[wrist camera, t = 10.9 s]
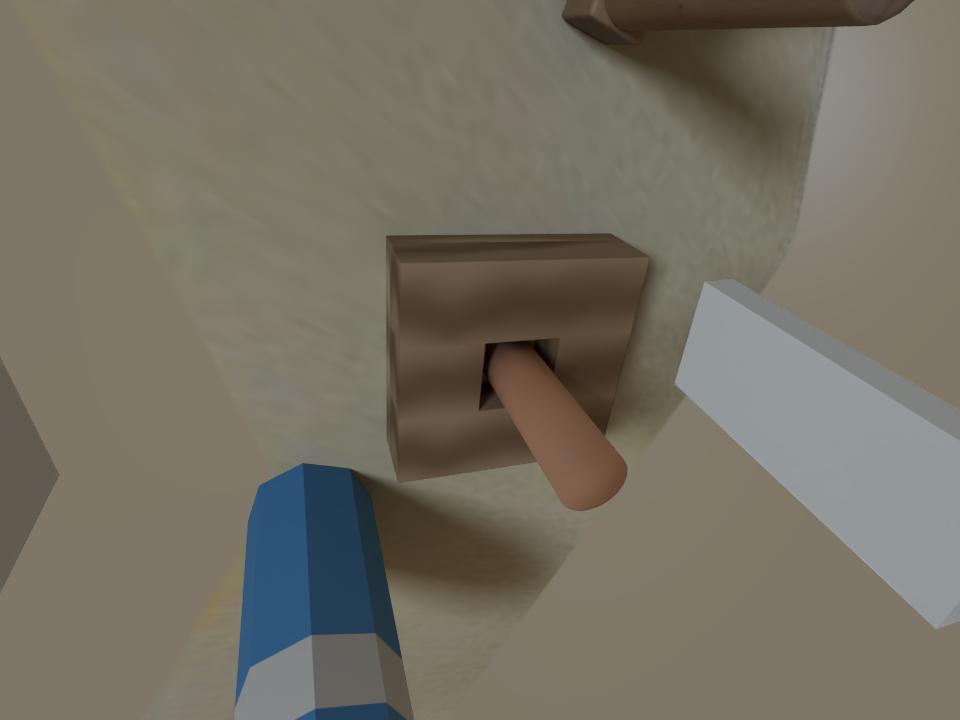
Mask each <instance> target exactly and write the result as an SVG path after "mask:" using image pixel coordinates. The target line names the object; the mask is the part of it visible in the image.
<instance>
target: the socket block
mask: <svg viewBox="0 0 960 720" xmlns="http://www.w3.org/2000/svg"><path fill="white" fill-rule="evenodd" d="M649 259H650V257H649V256H647V255H645V254H644V253H642V252H640V251H639V250H637V249H635V248H634V247H632V246H630V245H629V244H627V243H625V242H624V241H622V240H620V239H619V238H617V237H615V236H614V235H612V234H521V235H416V236H386V307H387V442H388V445H389V449H390V453H391V457H392V461H393V464H394V468H395V472H396V476H397V480H398V483H402V482H409V481H415V480H422V479H429V478H435V477H442V476H448V475H455V474H461V473H468V472H474V471H481V470H487V469H494V468H500V467H507V466H513V465H520V464H526V463H533V462H537V460H536V459H535V457H534V455H533V454H532V452H531V450H530V449H529V447H528V445H527V444H526V442H525V440H524V439H523V437H522V435H521V434H520V432H519V430H518V429H517V427H516V425H515V424H514V422H513V420H512V419H511V417H510V415H509V414H508V412H507V410H506V409H505V407H504V405H503V404H502V402H501V400H500V399H499V397H498V395H497V394H496V392H495V390H494V389H493V387H492V386H491V384H490V382H489V381H488V379H487V377H486V376H485V374H484V372H483V363H484V353H485V344H486V343H499V342H512V341H525V340H527V341H528V342H529V343H530V345H531V346H532V347H533V348H534V350H535V351H536V352H537V353H538V355H539V356H540V357H541V358H542V360H543V361H544V362H545V363H546V364H547V366H548V367H549V368H550V369H551V371H552V372H553V373H554V374H555V376H556V377H557V378H558V379H559V381H560V382H561V383H562V384H563V385H564V387H565V388H566V389H567V390H568V392H569V393H570V394H571V395H572V397H573V398H574V399H575V400H576V402H577V403H578V404H579V405H580V406H581V408H582V409H583V410H584V411H585V413H586V414H587V415H588V416H589V418H590V419H591V420H592V421H593V423H594V424H595V425H596V426H597V427H598V429H599V430H600V431H601V432H602V434H603V435H604V436H605V432H606V428H607V424H608V420H609V416H610V412H611V409H612V405H613V401H614V397H615V393H616V389H617V385H618V381H619V377H620V373H621V369H622V365H623V361H624V357H625V353H626V349H627V346H628V342H629V338H630V334H631V330H632V326H633V322H634V318H635V314H636V310H637V306H638V302H639V298H640V294H641V290H642V287H643V283H644V279H645V275H646V271H647V267H648V263H649Z"/></svg>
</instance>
